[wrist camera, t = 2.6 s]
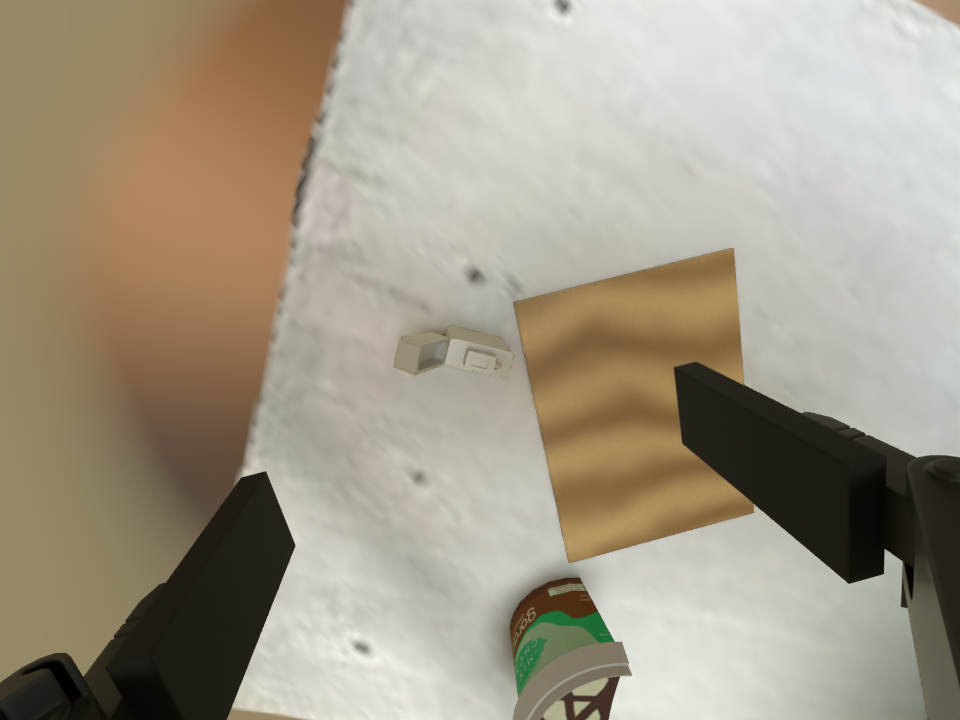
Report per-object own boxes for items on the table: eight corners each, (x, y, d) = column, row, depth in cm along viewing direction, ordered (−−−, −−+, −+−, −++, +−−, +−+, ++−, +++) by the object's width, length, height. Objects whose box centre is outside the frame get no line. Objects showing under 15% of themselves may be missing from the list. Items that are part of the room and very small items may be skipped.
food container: (512, 556, 39) (540, 662, 30) (584, 562, 40) (634, 668, 30) (484, 678, 42) (501, 811, 32) (551, 681, 43) (588, 811, 33)
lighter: (504, 338, 34) (527, 370, 27) (497, 361, 35) (518, 398, 27) (405, 314, 33) (399, 340, 25) (399, 338, 33) (392, 371, 26)
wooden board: (752, 510, 41) (754, 512, 40) (568, 561, 40) (569, 563, 40) (731, 248, 34) (733, 248, 34) (513, 302, 34) (514, 302, 33)
